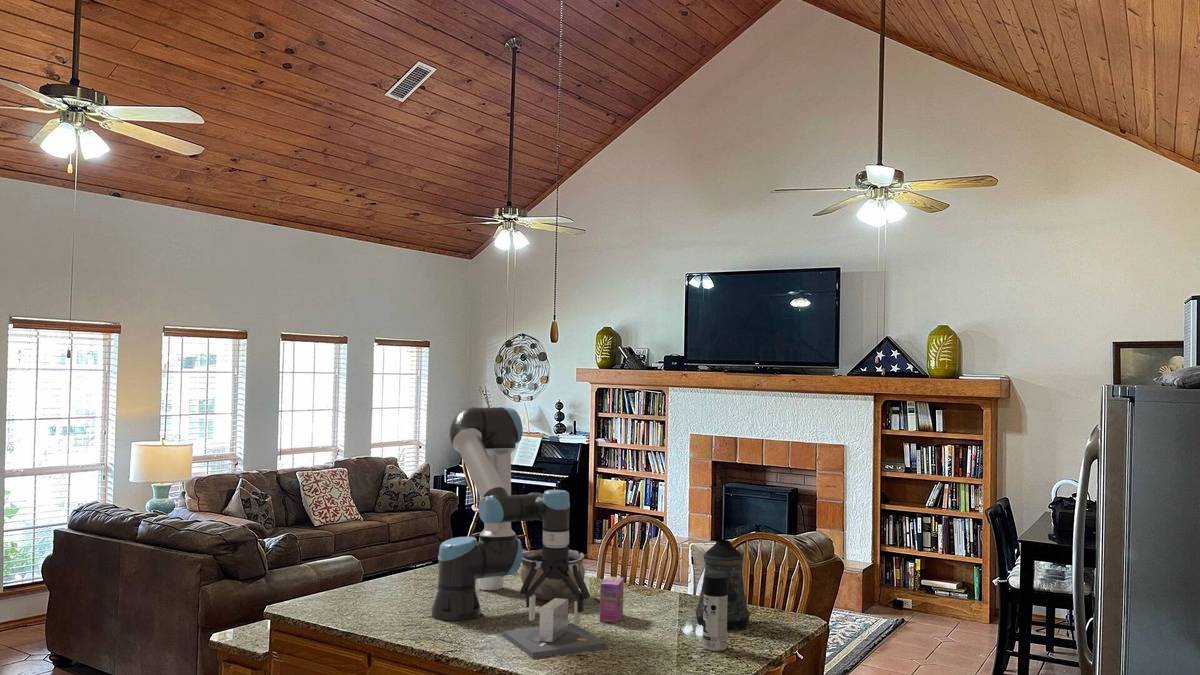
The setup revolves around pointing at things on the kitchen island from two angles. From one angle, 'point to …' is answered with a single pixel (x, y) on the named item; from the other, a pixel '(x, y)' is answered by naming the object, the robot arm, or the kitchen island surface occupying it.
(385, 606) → the kitchen island surface
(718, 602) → the spray can
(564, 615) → the dial handle
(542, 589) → the ceramic bowl
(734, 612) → the beer stein
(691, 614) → the kitchen island surface
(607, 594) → the box
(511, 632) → the dial plate
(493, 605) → the kitchen island surface
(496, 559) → the robot arm
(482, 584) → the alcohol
